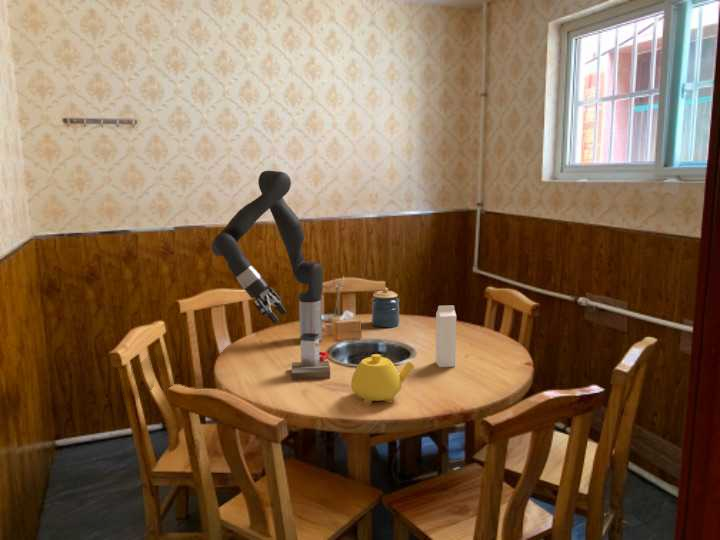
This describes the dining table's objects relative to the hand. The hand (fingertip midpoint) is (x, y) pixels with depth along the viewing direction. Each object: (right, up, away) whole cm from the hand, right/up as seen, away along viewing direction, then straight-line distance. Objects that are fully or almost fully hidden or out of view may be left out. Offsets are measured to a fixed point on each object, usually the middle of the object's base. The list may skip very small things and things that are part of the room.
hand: (280, 317), depth 195 cm
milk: (+59, -18, +5) cm, 62 cm away
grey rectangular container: (+11, -17, -2) cm, 20 cm away
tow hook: (+12, -17, +15) cm, 26 cm away
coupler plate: (+11, -19, -3) cm, 22 cm away
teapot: (+36, -23, -24) cm, 49 cm away
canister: (+40, -9, +61) cm, 73 cm away
